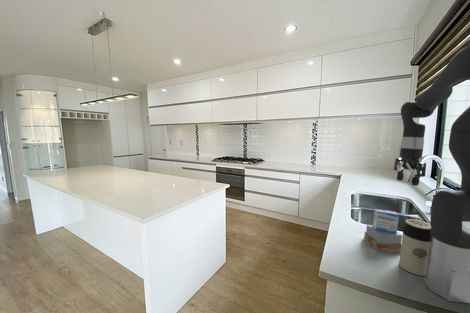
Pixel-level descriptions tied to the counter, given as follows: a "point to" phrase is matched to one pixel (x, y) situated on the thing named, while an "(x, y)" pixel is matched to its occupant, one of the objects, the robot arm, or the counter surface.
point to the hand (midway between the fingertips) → (406, 182)
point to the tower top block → (384, 236)
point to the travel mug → (415, 246)
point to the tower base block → (382, 245)
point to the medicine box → (385, 220)
